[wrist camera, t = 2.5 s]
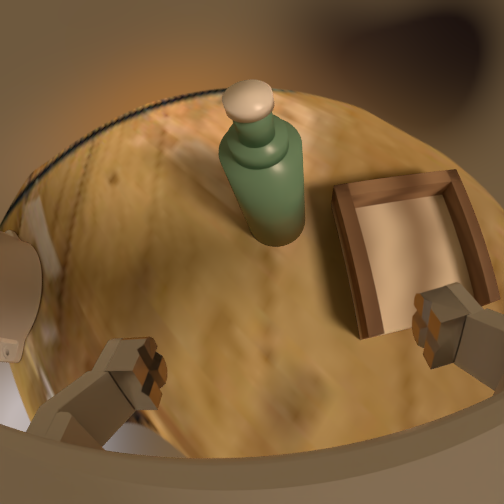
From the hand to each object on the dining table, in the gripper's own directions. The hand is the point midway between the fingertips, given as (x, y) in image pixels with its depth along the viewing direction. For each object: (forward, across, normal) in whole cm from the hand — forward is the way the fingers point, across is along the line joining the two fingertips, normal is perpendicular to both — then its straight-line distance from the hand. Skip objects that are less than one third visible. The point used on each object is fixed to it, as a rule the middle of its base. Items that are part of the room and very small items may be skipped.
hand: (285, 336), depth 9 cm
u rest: (+16, -12, +8) cm, 21 cm away
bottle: (+20, 0, +4) cm, 21 cm away
